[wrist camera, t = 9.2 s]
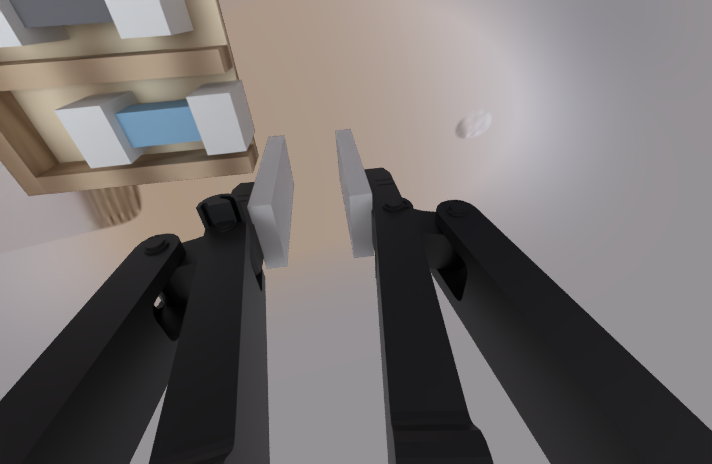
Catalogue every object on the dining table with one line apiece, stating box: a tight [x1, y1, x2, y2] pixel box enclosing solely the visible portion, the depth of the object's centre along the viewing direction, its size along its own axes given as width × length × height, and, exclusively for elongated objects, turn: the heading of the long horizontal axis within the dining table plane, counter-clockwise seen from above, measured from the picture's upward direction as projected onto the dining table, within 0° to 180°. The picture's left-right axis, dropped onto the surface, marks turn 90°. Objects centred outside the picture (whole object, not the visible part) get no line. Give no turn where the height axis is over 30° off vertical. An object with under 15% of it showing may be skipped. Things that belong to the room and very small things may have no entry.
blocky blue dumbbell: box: [54, 80, 255, 168], centre depth 23 cm, size 11×4×4 cm, turn 94°
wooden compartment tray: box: [0, 0, 258, 196], centre depth 21 cm, size 17×16×4 cm
